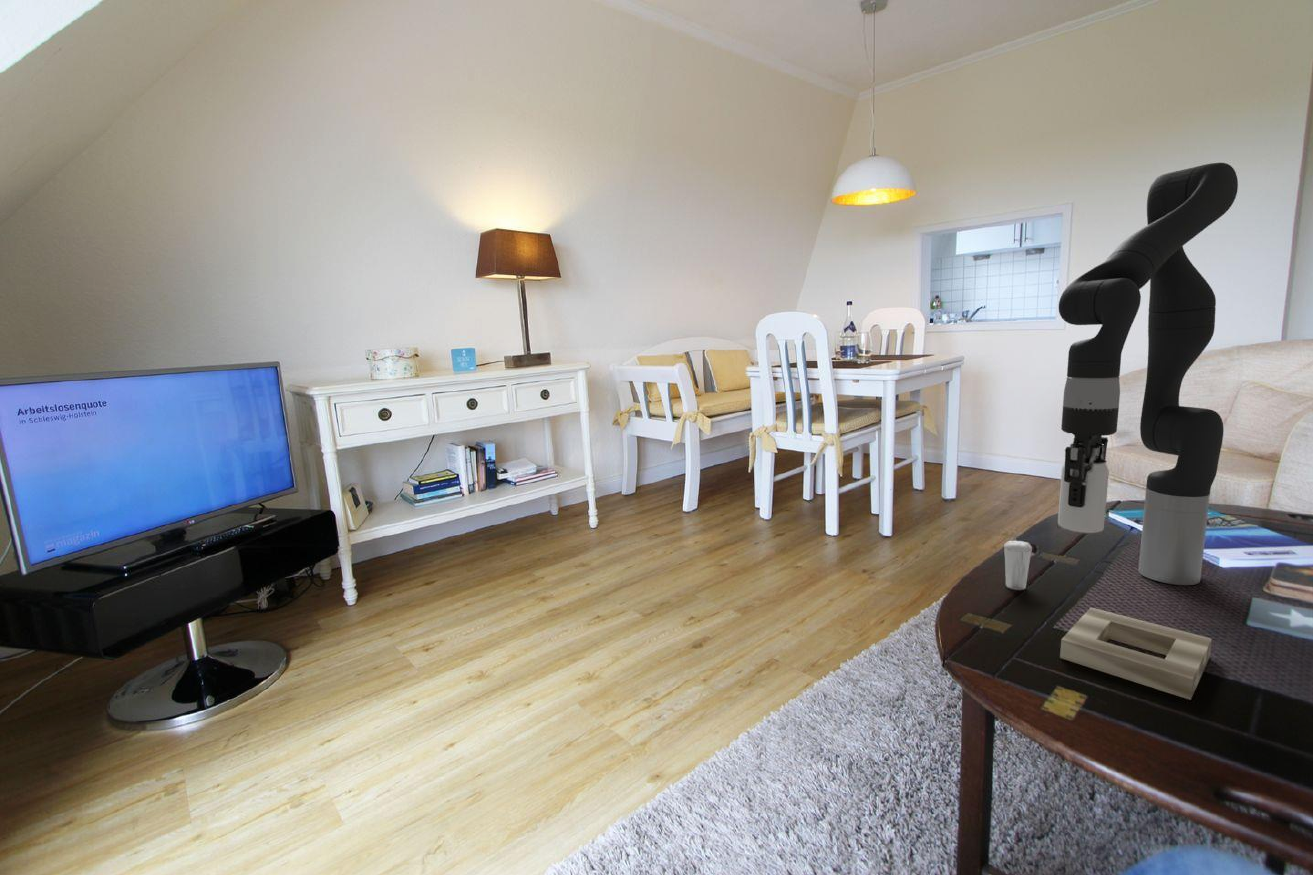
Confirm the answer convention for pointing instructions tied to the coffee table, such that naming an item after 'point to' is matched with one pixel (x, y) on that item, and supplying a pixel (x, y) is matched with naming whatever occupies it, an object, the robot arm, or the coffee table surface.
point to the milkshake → (1017, 563)
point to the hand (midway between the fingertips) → (1082, 501)
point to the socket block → (1163, 674)
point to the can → (1093, 511)
